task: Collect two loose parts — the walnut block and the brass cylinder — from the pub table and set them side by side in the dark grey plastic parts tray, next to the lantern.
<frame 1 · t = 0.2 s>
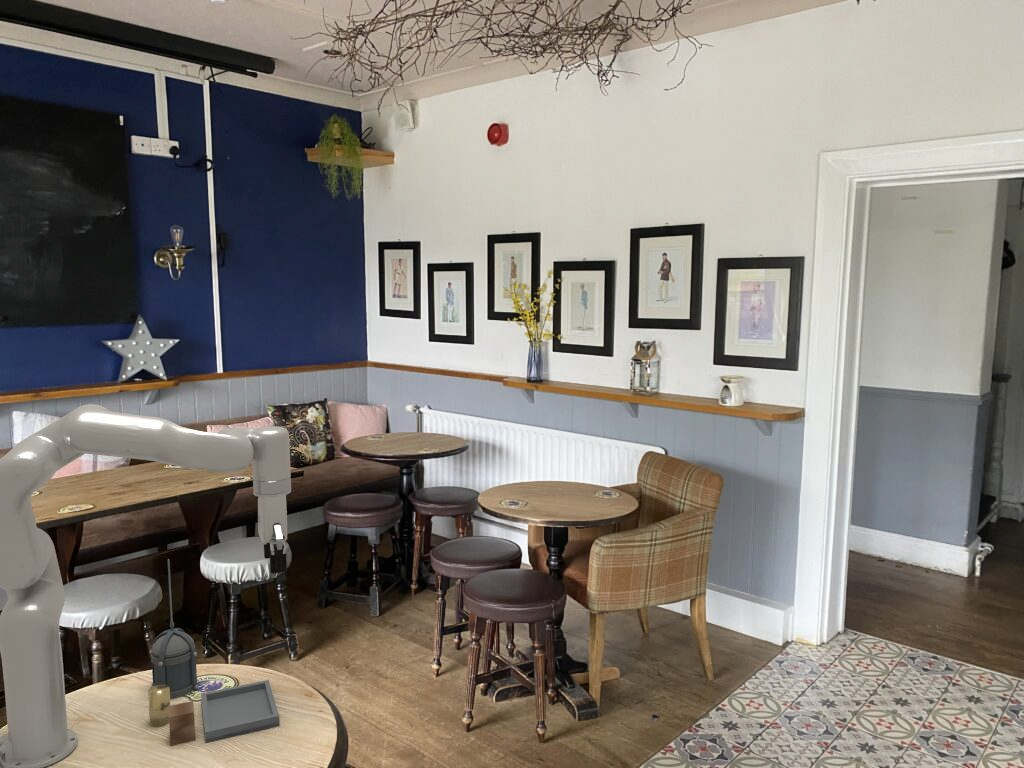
hand: (275, 564, 159), 31 cm above the table, fingers open, 9 cm apart
brass cylinder: (160, 721, 155), on the table
lantern: (175, 689, 168), on the table
parts tray: (239, 714, 158), on the table
walnut block: (182, 737, 149), on the table
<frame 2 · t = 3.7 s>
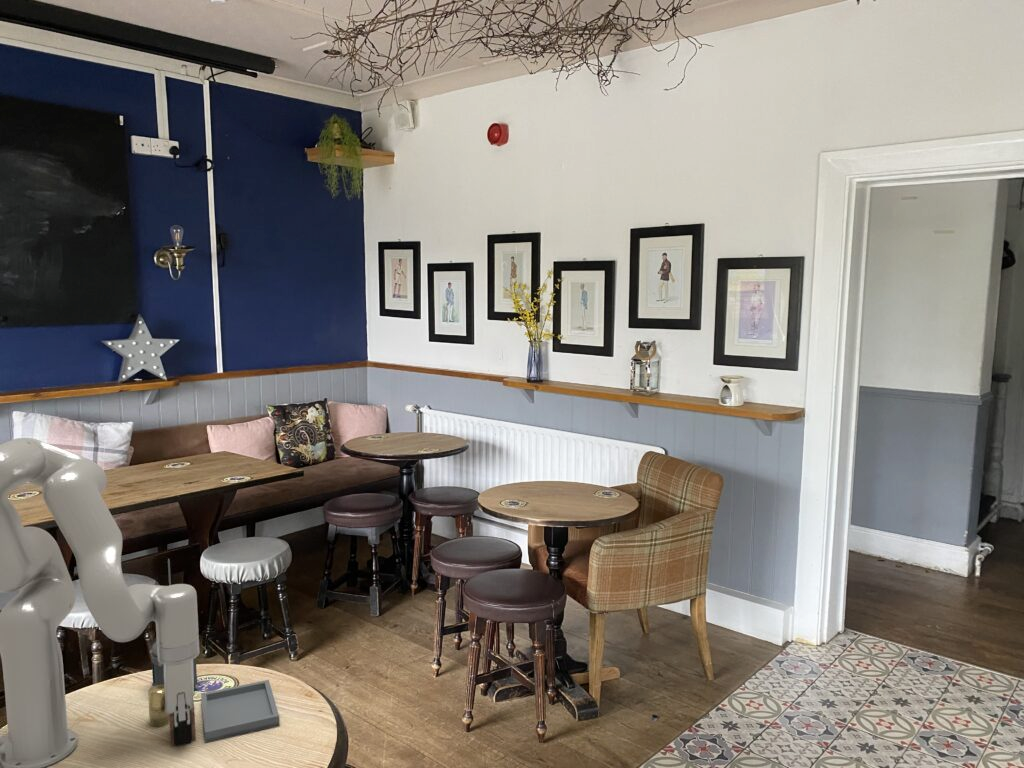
hand: (182, 735, 149), 0 cm above the table, fingers closed on walnut block, 4 cm apart
walnut block: (183, 737, 149), on the table, touching gripper
everything else where it was.
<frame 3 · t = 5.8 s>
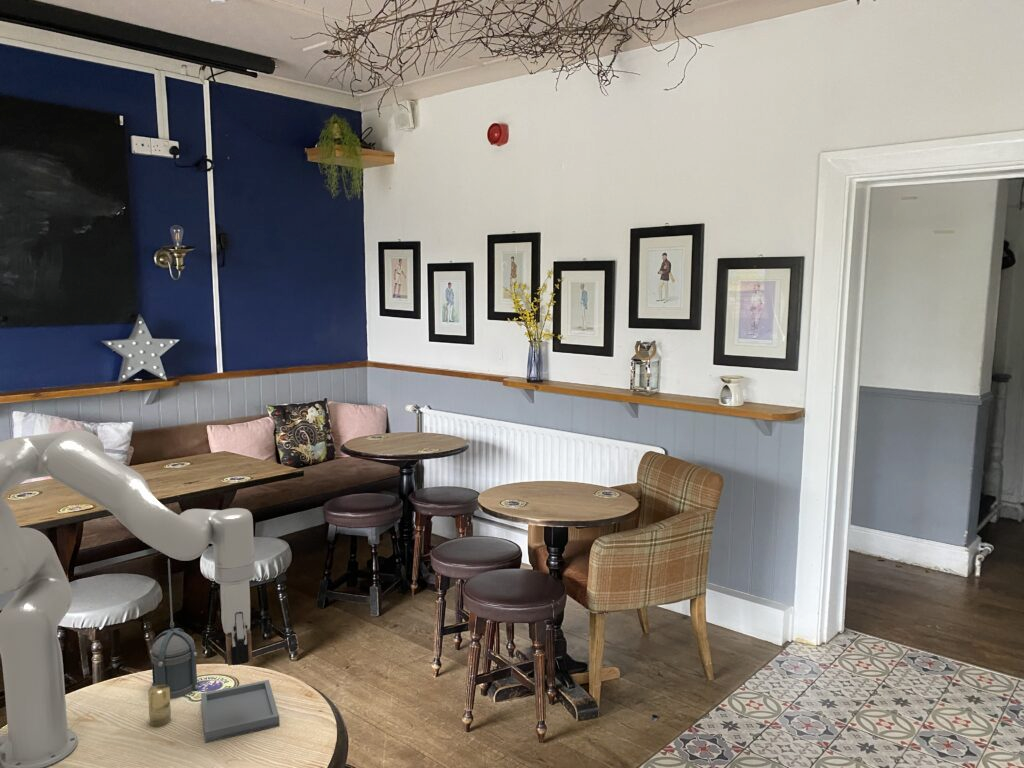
hand: (238, 656, 152), 14 cm above the table, fingers closed on walnut block, 4 cm apart
walnut block: (239, 658, 152), point 14 cm above the table, touching gripper
everything else where it was.
when the fingers open (3 cm above the table, at t = 8.2 s): walnut block drops 1 cm, resting on parts tray.
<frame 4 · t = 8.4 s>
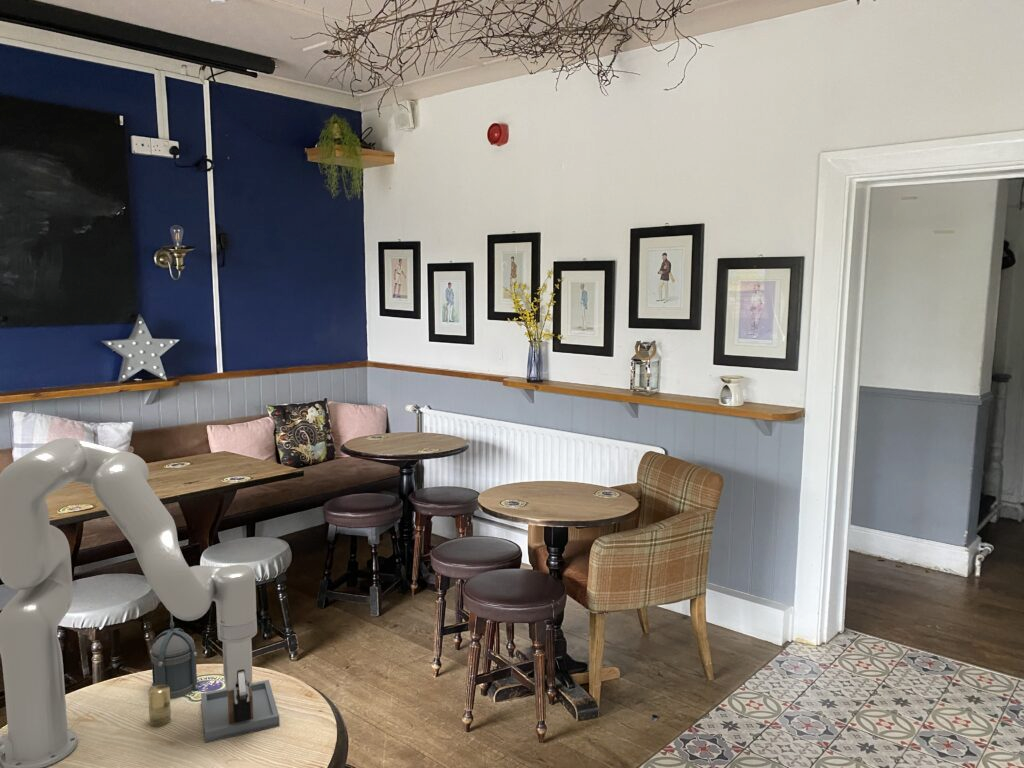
hand: (240, 710, 154), 3 cm above the table, fingers open, 6 cm apart
walnut block: (240, 720, 154), point 1 cm above the table, touching parts tray
everything else where it was.
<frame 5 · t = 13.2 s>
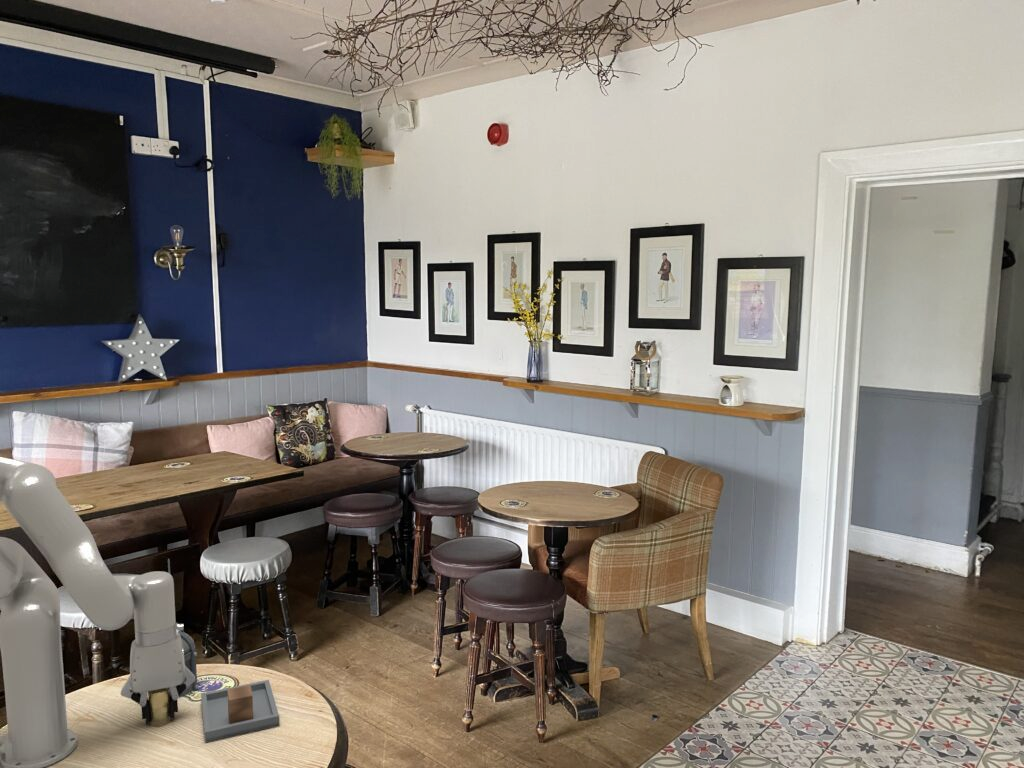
hand: (160, 717, 155), 1 cm above the table, fingers closed on brass cylinder, 4 cm apart
brass cylinder: (160, 721, 155), on the table, touching gripper
everything else where it was.
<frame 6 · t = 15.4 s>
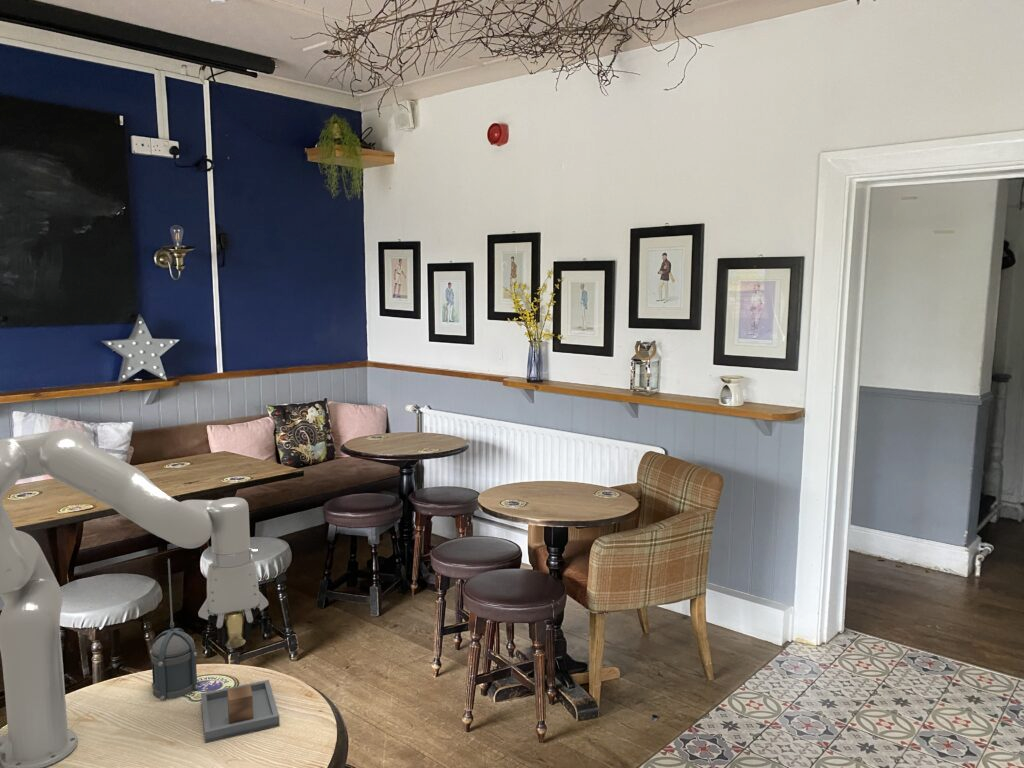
hand: (235, 640, 159), 15 cm above the table, fingers closed on brass cylinder, 4 cm apart
brass cylinder: (235, 643, 159), point 14 cm above the table, touching gripper
everything else where it was.
when the fingers open (3 cm above the table, at t = 17.7 s): brass cylinder drops 1 cm, resting on parts tray.
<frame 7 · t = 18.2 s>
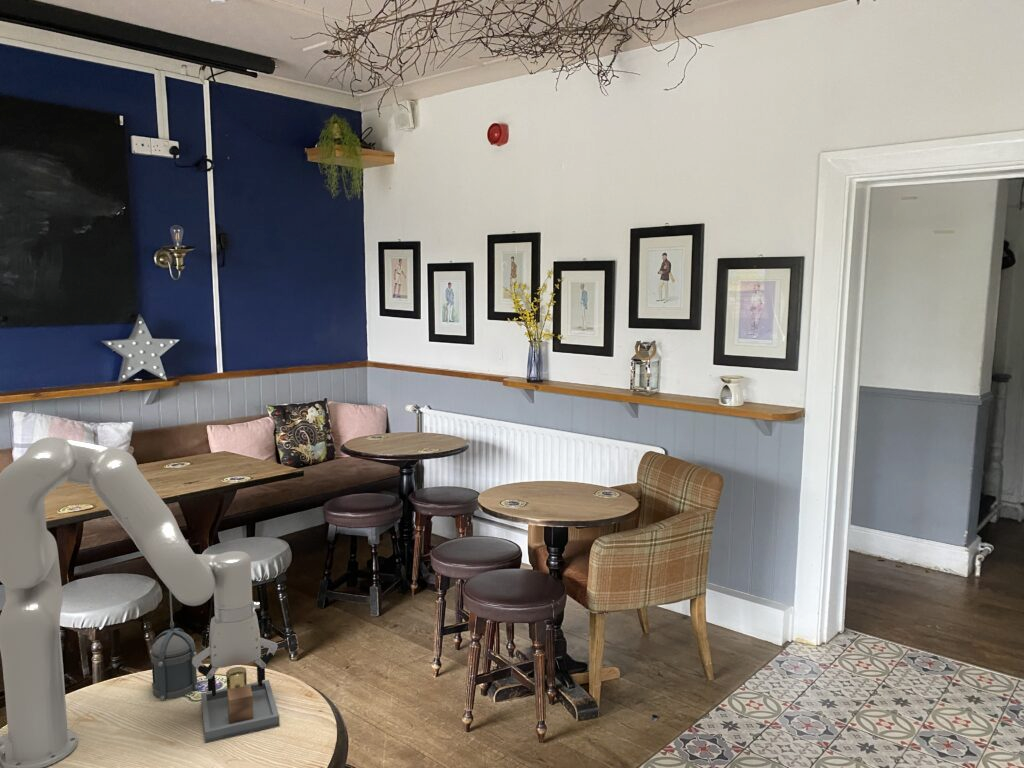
hand: (237, 688, 160), 4 cm above the table, fingers open, 9 cm apart
brass cylinder: (237, 702, 161), point 1 cm above the table, touching parts tray
everything else where it was.
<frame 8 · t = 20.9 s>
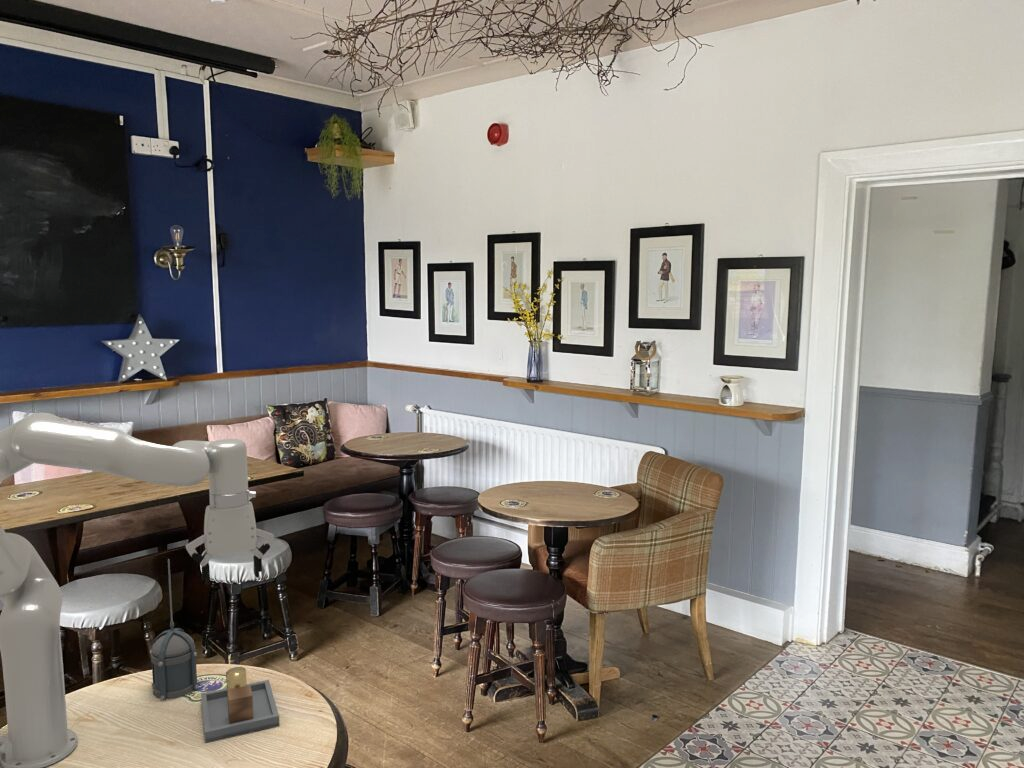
hand: (232, 578, 157), 28 cm above the table, fingers open, 9 cm apart
nothing on the table moved.
at the end: walnut block inside the target area on the parts tray (3.9 cm from its centre), point 0.8 cm above the parts tray's base; brass cylinder inside the target area on the parts tray (3.5 cm from its centre), point 0.8 cm above the parts tray's base; brass cylinder tilted 1° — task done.
